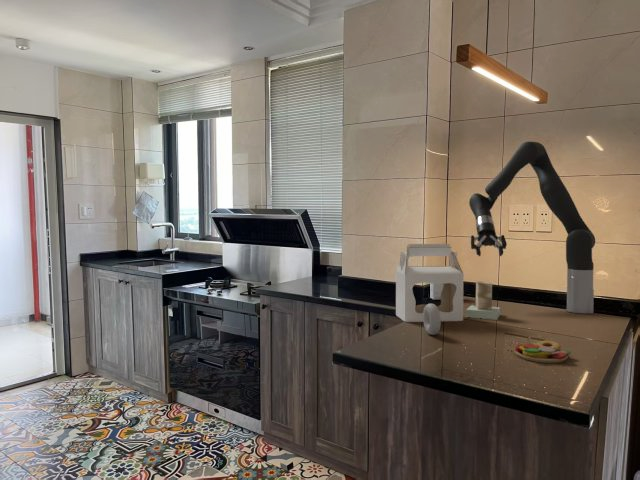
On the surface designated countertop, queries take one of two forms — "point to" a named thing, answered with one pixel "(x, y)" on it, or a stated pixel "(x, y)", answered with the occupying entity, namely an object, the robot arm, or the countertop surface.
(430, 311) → the donut
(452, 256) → the gable box
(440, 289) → the supplement box
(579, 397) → the countertop surface
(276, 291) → the countertop surface
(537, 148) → the robot arm
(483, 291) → the maple block
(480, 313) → the base slab
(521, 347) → the toy food set
